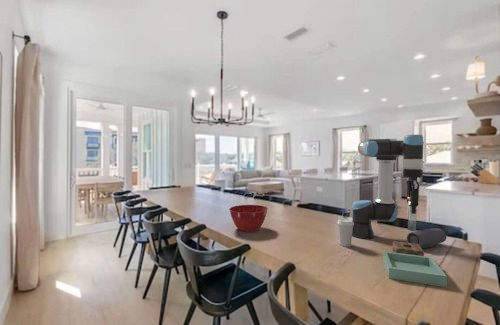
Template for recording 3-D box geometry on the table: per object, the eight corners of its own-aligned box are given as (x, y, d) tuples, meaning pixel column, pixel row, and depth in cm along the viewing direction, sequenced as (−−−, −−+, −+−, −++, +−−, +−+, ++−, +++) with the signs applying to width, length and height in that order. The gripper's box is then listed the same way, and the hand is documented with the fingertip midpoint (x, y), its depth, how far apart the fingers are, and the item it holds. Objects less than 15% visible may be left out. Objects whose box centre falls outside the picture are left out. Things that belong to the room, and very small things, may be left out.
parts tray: (388, 278, 111) (388, 268, 111) (382, 259, 131) (383, 251, 131) (446, 287, 104) (446, 276, 104) (431, 266, 123) (431, 257, 123)
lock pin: (407, 230, 116) (408, 197, 115) (406, 228, 119) (406, 196, 119) (418, 231, 114) (418, 198, 114) (415, 229, 118) (416, 197, 118)
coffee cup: (353, 243, 156) (353, 218, 156) (354, 248, 147) (354, 222, 147) (336, 241, 159) (337, 217, 159) (336, 246, 150) (337, 221, 150)
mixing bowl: (222, 232, 178) (222, 210, 178) (239, 222, 205) (239, 203, 204) (260, 237, 168) (260, 213, 167) (272, 225, 194) (272, 205, 194)
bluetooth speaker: (431, 241, 159) (431, 225, 159) (447, 246, 150) (447, 229, 150) (405, 246, 151) (405, 229, 151) (420, 251, 142) (421, 234, 142)
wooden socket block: (396, 259, 131) (396, 248, 131) (392, 251, 142) (392, 241, 142) (423, 263, 127) (424, 251, 126) (417, 254, 138) (418, 243, 138)
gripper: (427, 169, 107) (426, 224, 108) (418, 167, 122) (417, 216, 123) (407, 169, 110) (406, 222, 111) (400, 167, 125) (399, 215, 126)
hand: (412, 219), depth 117 cm, fingers closed on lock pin, 3 cm apart
